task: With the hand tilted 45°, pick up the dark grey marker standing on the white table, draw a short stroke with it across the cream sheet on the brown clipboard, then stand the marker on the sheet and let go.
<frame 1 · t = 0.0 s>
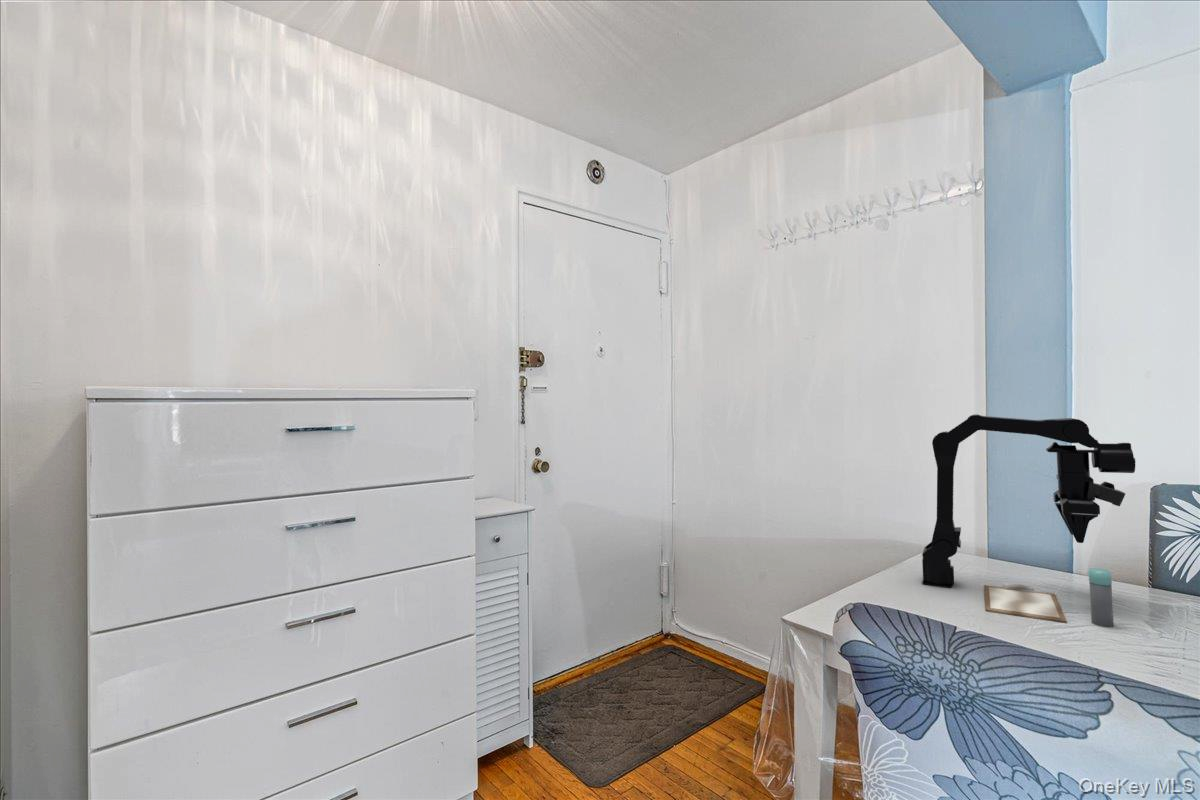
hand: (1076, 538, 127), 14 cm above the table, tool pointing down, fingers open, 9 cm apart
marker: (1102, 623, 114), on the table
clipboard: (1021, 603, 127), on the table
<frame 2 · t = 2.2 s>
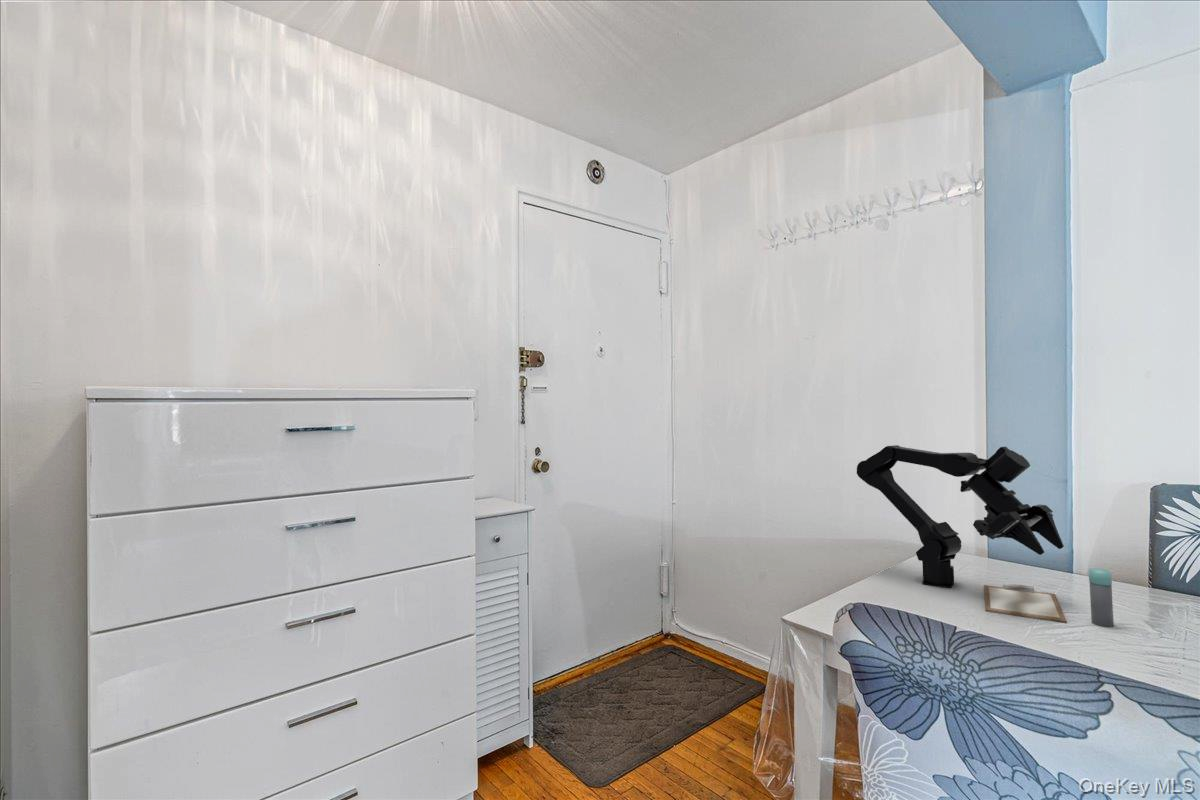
hand: (1052, 550, 121), 13 cm above the table, tool tilted 45°, fingers open, 9 cm apart
nothing on the table moved.
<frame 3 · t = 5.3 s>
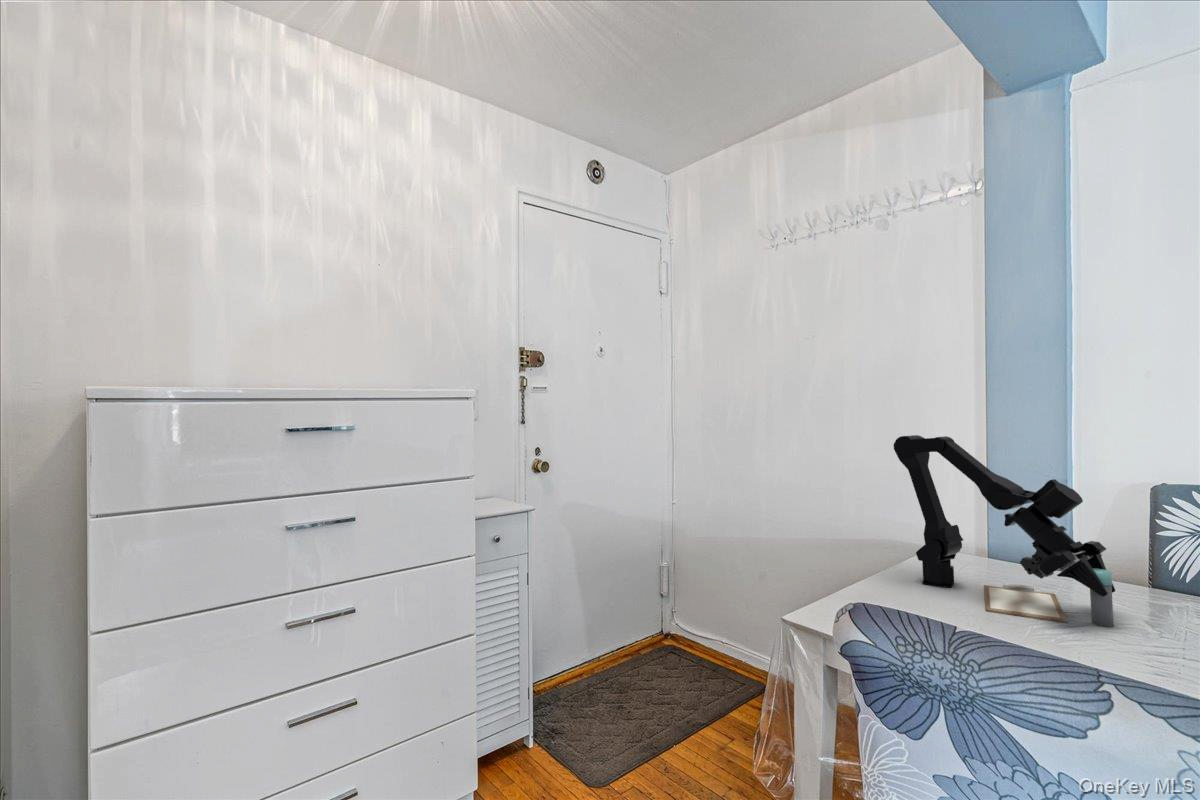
hand: (1109, 593, 112), 7 cm above the table, tool tilted 45°, fingers closed on marker, 3 cm apart
marker: (1102, 623, 113), on the table, touching gripper
when the fingers open (8 cm above the table, at t = 10.2 s): marker stays where it is, resting on clipboard.
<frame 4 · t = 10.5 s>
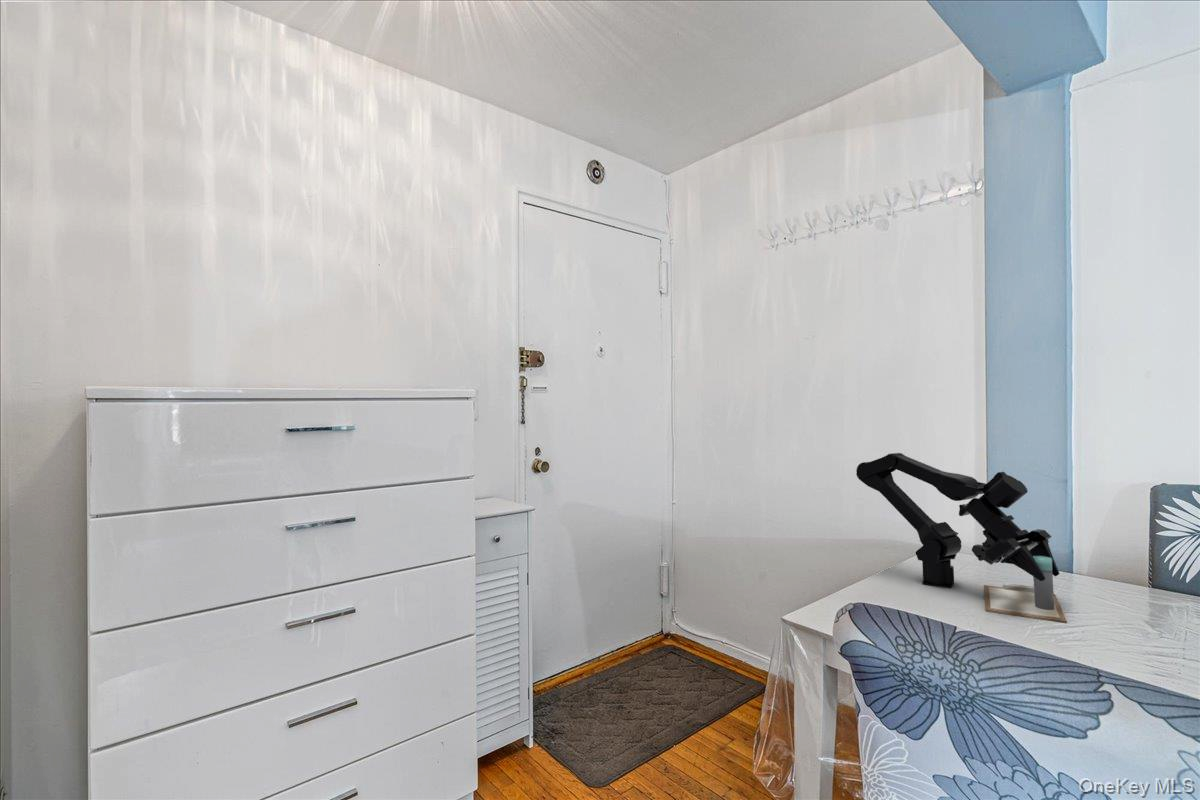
hand: (1050, 577, 121), 8 cm above the table, tool tilted 45°, fingers open, 6 cm apart
marker: (1044, 607, 122), point 1 cm above the table, touching clipboard
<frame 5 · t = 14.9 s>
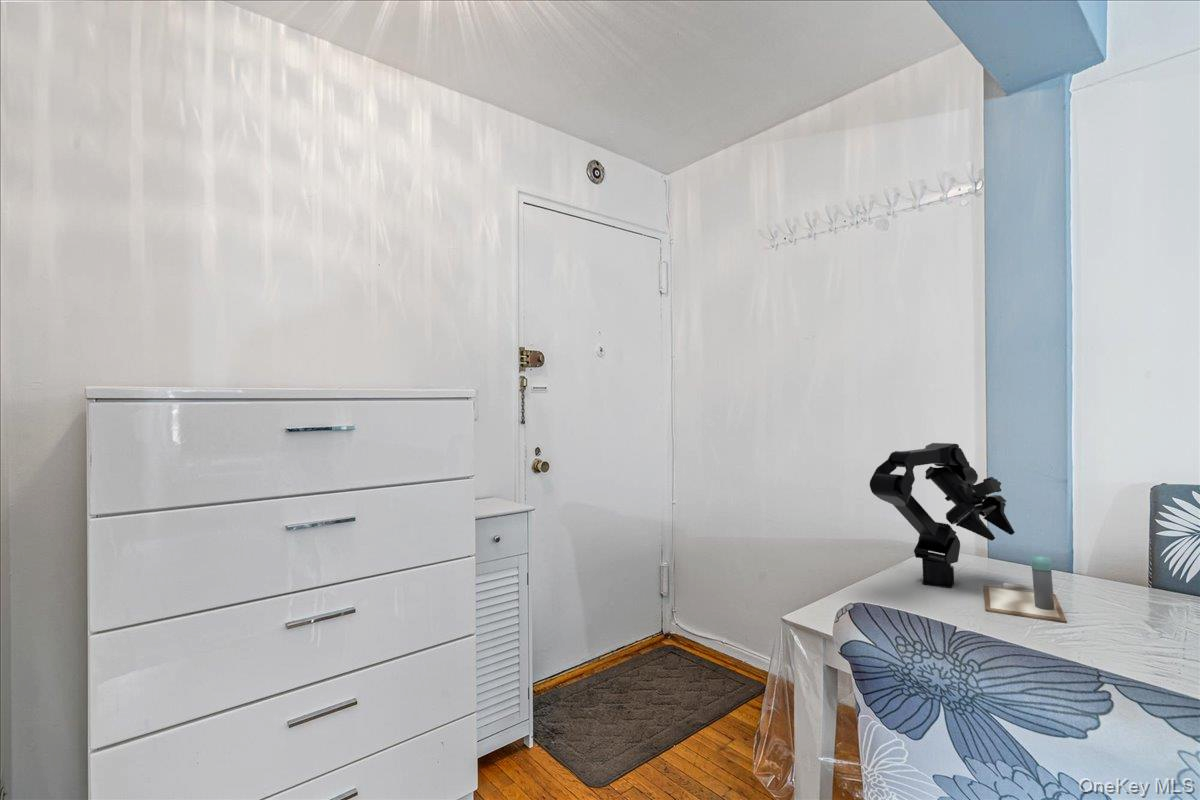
hand: (1003, 536, 135), 14 cm above the table, tool tilted 45°, fingers open, 9 cm apart
nothing on the table moved.
at the end: marker inside the target area on the clipboard (4.9 cm from its centre), point 0.6 cm above the clipboard's base; marker tilted 2°; the gripper is holding nothing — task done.
